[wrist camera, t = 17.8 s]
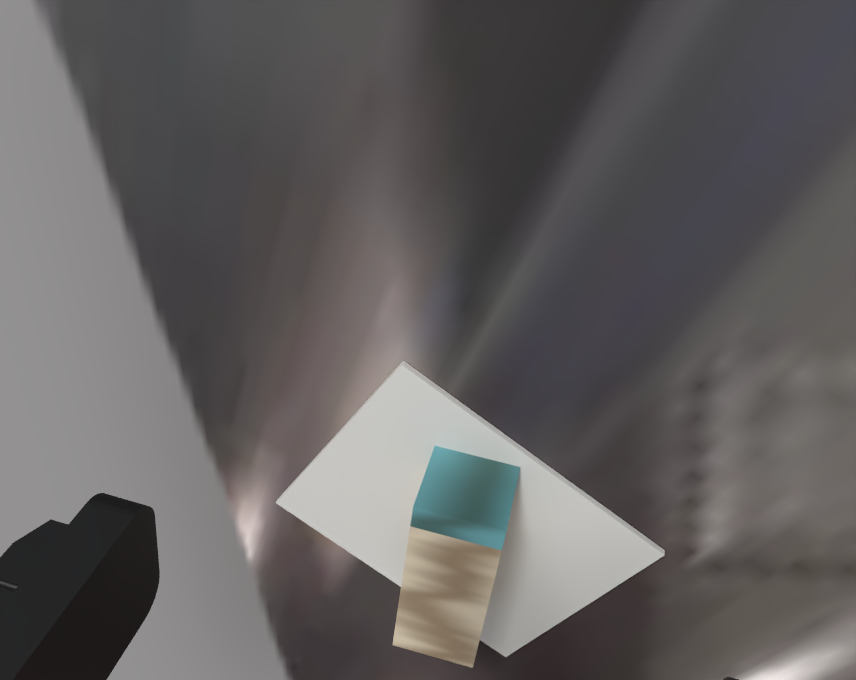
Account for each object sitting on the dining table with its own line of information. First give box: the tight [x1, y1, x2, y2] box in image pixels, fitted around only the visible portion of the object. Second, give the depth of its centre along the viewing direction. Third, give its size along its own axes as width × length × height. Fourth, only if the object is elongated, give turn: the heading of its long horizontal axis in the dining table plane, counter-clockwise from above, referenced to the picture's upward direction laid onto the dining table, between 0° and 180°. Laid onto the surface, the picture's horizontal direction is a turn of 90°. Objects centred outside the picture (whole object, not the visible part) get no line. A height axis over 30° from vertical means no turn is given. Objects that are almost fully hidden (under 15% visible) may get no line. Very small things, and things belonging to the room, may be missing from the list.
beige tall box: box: [393, 446, 520, 668], centre depth 48 cm, size 5×5×12 cm
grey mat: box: [276, 361, 665, 657], centre depth 50 cm, size 19×15×1 cm
